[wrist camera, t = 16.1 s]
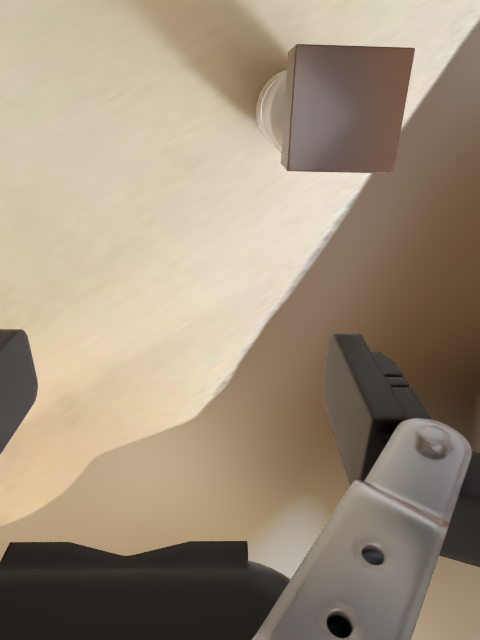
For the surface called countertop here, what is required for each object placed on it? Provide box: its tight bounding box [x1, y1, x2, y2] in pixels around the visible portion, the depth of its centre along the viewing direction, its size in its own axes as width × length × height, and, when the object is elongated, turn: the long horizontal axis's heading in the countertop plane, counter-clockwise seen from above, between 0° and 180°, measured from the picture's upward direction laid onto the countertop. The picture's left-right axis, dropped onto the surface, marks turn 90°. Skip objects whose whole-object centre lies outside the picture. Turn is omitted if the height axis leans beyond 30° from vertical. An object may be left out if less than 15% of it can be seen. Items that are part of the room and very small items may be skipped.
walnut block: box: [281, 44, 415, 173], centre depth 22 cm, size 6×6×3 cm
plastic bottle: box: [256, 69, 287, 153], centre depth 33 cm, size 6×7×20 cm
